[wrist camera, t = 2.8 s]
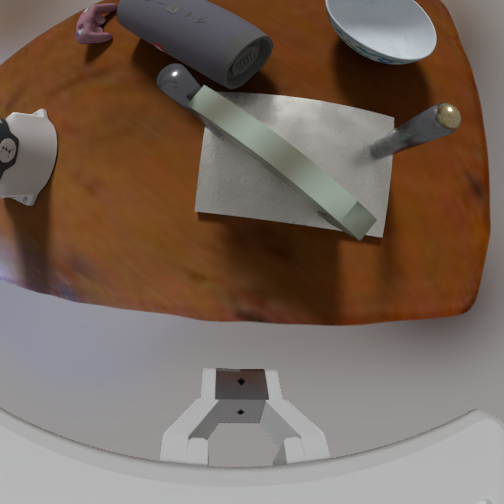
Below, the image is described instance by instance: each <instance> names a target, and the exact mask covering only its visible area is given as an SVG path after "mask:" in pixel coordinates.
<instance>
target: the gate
mask: <svg viewBox="0 0 504 504" xmlns="http://www.w3.org/2000/svg"><path fill="white" fill-rule="evenodd" d="M188 106H189V107H190V108H191V109H192V110H194V111H195V112H196V113H198V114H199V115H201V116H202V117H204V118H205V119H207V120H208V121H209V122H210V123H211V124H212V125H213V126H214V127H215V128H216V129H217V130H218V131H219V132H220V133H221V134H222V135H223V136H224V137H225V138H226V139H228V140H229V141H231V142H232V143H233V144H235V145H236V146H237V147H239V148H240V149H241V150H243V151H244V152H245V153H247V154H248V155H249V156H251V157H252V158H253V159H255V160H256V161H257V162H259V163H260V164H261V165H262V166H264V167H265V168H266V169H268V170H269V171H270V172H271V173H273V174H274V175H275V176H276V177H278V178H279V179H280V180H281V181H283V182H284V183H285V184H286V185H288V186H289V187H290V188H291V189H293V190H294V191H295V192H296V193H297V194H299V195H300V196H301V197H302V198H303V199H305V200H306V201H307V202H308V203H309V204H310V205H312V206H313V207H314V208H315V209H316V210H317V213H318V214H319V215H320V216H321V217H322V218H324V219H325V220H326V221H327V222H328V223H329V224H331V225H333V226H335V227H336V228H338V229H340V230H342V231H343V232H345V233H347V234H349V235H350V236H352V237H354V238H356V239H357V240H359V241H360V240H361V239H362V238H363V237H364V236H365V234H366V233H367V232H368V231H369V229H370V228H371V227H372V226H373V225H374V223H375V222H376V221H377V219H376V218H375V217H374V216H373V215H372V214H371V213H370V212H369V211H368V210H367V209H366V208H365V207H364V206H362V205H361V204H360V203H359V202H358V201H357V200H356V199H355V198H354V197H353V196H352V195H351V194H349V193H348V192H347V191H346V190H345V189H344V188H343V187H342V186H341V185H339V184H338V183H337V182H336V181H335V180H334V179H333V178H331V177H330V176H329V175H328V174H327V173H326V172H324V171H323V170H322V169H321V168H320V167H318V166H317V165H316V164H315V163H314V162H312V161H311V160H310V159H309V158H308V157H306V156H305V155H304V154H303V153H301V152H300V151H299V150H297V149H296V148H295V147H294V146H292V145H291V144H290V143H288V142H287V141H286V140H285V139H283V138H282V137H281V136H279V135H278V134H277V133H275V132H274V131H273V130H271V129H270V128H268V127H267V126H266V125H264V124H263V123H261V122H260V121H259V120H257V119H256V118H254V117H253V116H252V115H250V114H249V113H247V112H246V111H244V110H243V109H241V108H240V107H238V106H237V105H235V104H234V103H232V102H231V101H229V100H228V99H226V98H225V97H223V96H221V95H220V94H218V93H217V92H215V91H213V90H212V89H210V88H209V87H207V86H205V85H204V86H203V87H202V88H201V89H200V90H199V92H198V93H197V94H196V95H195V96H194V97H193V99H192V100H191V101H190V102H189V103H188Z"/></svg>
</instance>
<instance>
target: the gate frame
mask: <svg viewBox="0 0 504 504" xmlns="http://www.w3.org/2000/svg"><path fill="white" fill-rule="evenodd" d="M157 86H158V87H159V88H160V89H161V90H162V91H163V92H164V93H166V94H167V95H168V96H169V97H171V98H172V99H173V100H174V101H175V102H177V103H178V104H179V105H180V106H182V107H183V108H184V109H185V110H186V111H188V112H189V113H190V114H191V115H192V116H193V117H195V118H196V119H197V120H198V121H199V122H200V123H202V124H203V125H204V126H205V130H204V137H203V144H202V152H201V159H200V167H199V176H198V184H197V193H196V203H195V211H196V212H205V213H214V214H222V215H231V216H239V217H247V218H255V219H263V220H270V221H277V222H285V223H292V224H299V225H306V226H313V227H319V228H326V229H332V230H339V231H342V230H340V229H338V228H336V227H335V226H333V225H331V224H329V223H328V222H327V221H326V220H325V219H324V218H322V217H321V216H320V215H319V214H318V213H317V210H316V209H315V208H314V207H313V206H312V205H310V204H309V203H308V202H307V201H306V200H305V199H303V198H302V197H301V196H300V195H299V194H297V193H296V192H295V191H294V190H293V189H291V188H290V187H289V186H288V185H286V184H285V183H284V182H283V181H281V180H280V179H279V178H278V177H276V176H275V175H274V174H273V173H271V172H270V171H269V170H268V169H266V168H265V167H264V166H262V165H261V164H260V163H259V162H257V161H256V160H255V159H253V158H252V157H251V156H249V155H248V154H247V153H245V152H244V151H243V150H241V149H240V148H239V147H237V146H236V145H235V144H233V143H232V142H231V141H229V140H228V139H226V138H225V137H224V136H223V135H222V134H221V133H220V132H219V131H218V130H217V129H216V128H215V127H214V126H213V125H212V124H211V123H210V122H209V121H208V120H207V119H205V118H204V117H202V116H201V115H199V114H198V113H196V112H195V111H194V110H192V109H191V108H190V107H189V106H188V103H189V102H190V101H191V100H192V99H193V97H194V96H195V95H196V94H197V93H198V92H199V90H200V89H201V88H202V87H201V86H200V85H199V84H198V82H197V81H196V80H195V79H194V78H193V76H192V75H191V74H190V73H189V71H188V70H187V69H186V68H185V67H184V66H183V65H181V64H170V65H168V66H166V67H165V68H163V69H162V70H161V71H160V73H159V74H158V77H157ZM217 93H218V94H220V95H221V96H223V97H225V98H226V99H228V100H229V101H231V102H232V103H234V104H235V105H237V106H238V107H240V108H241V109H243V110H244V111H246V112H247V113H249V114H250V115H252V116H253V117H254V118H256V119H257V120H259V121H260V122H261V123H263V124H264V125H266V126H267V127H268V128H270V129H271V130H273V131H274V132H275V133H277V134H278V135H279V136H281V137H282V138H283V139H285V140H286V141H287V142H288V143H290V144H291V145H292V146H294V147H295V148H296V149H297V150H299V151H300V152H301V153H303V154H304V155H305V156H306V157H308V158H309V159H310V160H311V161H312V162H314V163H315V164H316V165H317V166H318V167H320V168H321V169H322V170H323V171H324V172H326V173H327V174H328V175H329V176H330V177H331V178H333V179H334V180H335V181H336V182H337V183H338V184H339V185H341V186H342V187H343V188H344V189H345V190H346V191H347V192H348V193H349V194H351V195H352V196H353V197H354V198H355V199H356V200H357V201H358V202H359V203H360V204H361V205H362V206H364V207H365V208H366V209H367V210H368V211H369V212H370V213H371V214H372V215H373V216H374V217H375V218H376V219H377V221H376V222H375V223H374V225H373V226H372V227H371V228H370V229H369V231H368V232H367V233H366V234H365V235H369V236H375V237H381V238H382V237H383V232H384V225H385V219H386V212H387V205H388V197H389V188H390V179H391V168H392V155H393V154H395V153H398V152H401V151H403V150H406V149H409V148H411V147H414V146H417V145H420V144H423V143H425V142H428V141H431V140H434V139H437V138H439V137H442V136H445V135H448V134H451V133H453V132H454V131H455V129H456V128H458V127H459V125H460V123H461V115H460V113H459V111H458V109H457V108H456V107H455V106H453V105H452V104H448V103H444V104H441V103H439V104H436V105H434V106H432V107H431V108H429V109H427V110H425V111H424V112H422V113H420V114H419V115H417V116H415V117H413V118H412V119H410V120H408V121H407V122H405V123H403V124H402V125H400V126H398V127H397V128H395V129H394V117H390V116H387V115H383V114H379V113H375V112H371V111H367V110H363V109H359V108H354V107H350V106H345V105H340V104H335V103H329V102H324V101H318V100H311V99H304V98H297V97H289V96H280V95H270V94H257V93H240V92H217Z"/></svg>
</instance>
